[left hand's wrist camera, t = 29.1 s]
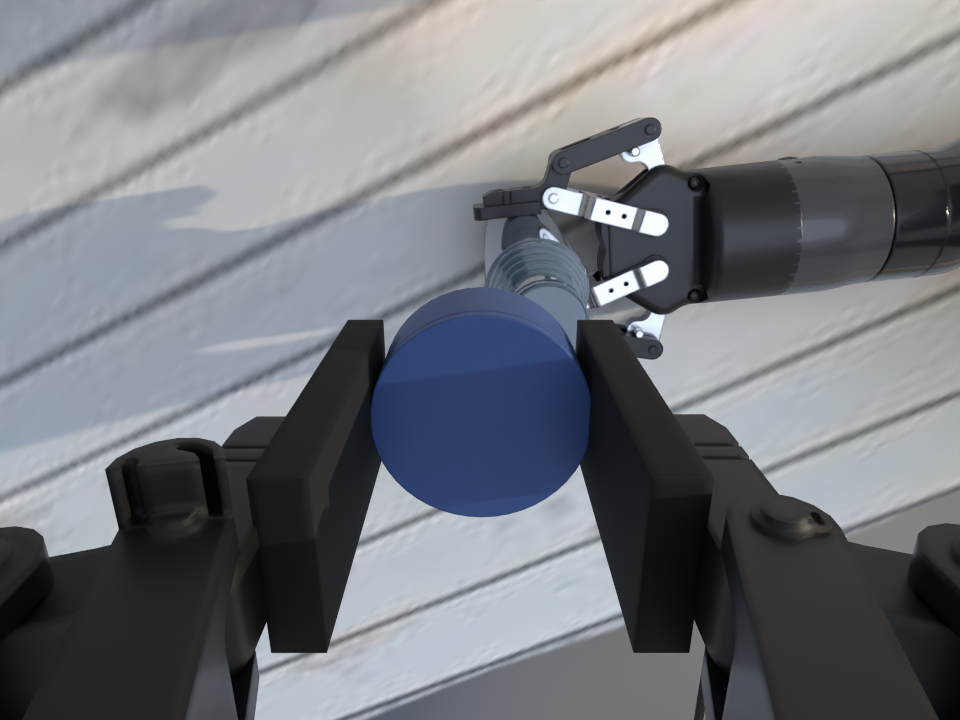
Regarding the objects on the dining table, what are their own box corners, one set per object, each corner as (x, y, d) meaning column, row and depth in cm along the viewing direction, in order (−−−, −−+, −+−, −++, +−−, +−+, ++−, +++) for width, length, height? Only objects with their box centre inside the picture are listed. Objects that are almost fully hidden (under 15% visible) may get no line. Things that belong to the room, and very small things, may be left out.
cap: (560, 476, 15) (571, 528, 13) (377, 454, 15) (362, 505, 13) (594, 300, 14) (613, 331, 12) (393, 274, 13) (378, 301, 12)
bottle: (486, 197, 43) (487, 259, 24) (558, 201, 43) (617, 266, 24) (483, 268, 44) (481, 380, 25) (552, 272, 45) (602, 386, 25)
